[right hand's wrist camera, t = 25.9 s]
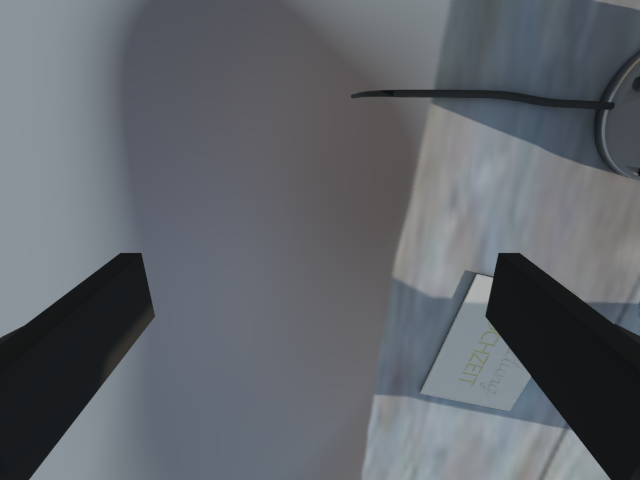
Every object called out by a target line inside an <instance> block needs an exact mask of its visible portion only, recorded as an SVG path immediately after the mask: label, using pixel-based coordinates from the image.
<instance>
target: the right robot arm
mask: <svg viewBox="0 0 640 480" xmlns="http://www.w3.org/2000/svg"><path fill="white" fill-rule="evenodd" d="M360 97H451V98H496V99H507V100H514V101H520V102H525V103H530V104H536V105H543V106H551V107H566V108H586V109H598V111H597V115H596V121H595V141H596V145H597V149H598V152H599V154H600V156H601V158H602V159H603V161H604V162H605V163H606V165H607V166H608V167H609V168H611V169H612V170H613V171H615V172H616V173H618V174H620V175H622V176H625V177H629V178H632V179H637V180H640V51H639V52H638V53H636V54H635V55H634V56H633V57H632V58H631V59H630V60H629V61H628V62H627V63H626V64H625V65H624V66H623V67H622V68H621V69H620V70H619V72H618V73H617V74H616V75H615V77H614V78H613V80H612V81H611V83H610V84H609V86H608V87H607V89H606V91H605V93H604V95H603V97H602V100H601V102H597V101H577V100H557V99H548V98H541V97H535V96H530V95H525V94H519V93H512V92H503V91H488V90H376V91H364V92H359V93H356V94H352V95H351V98H360ZM638 315H639V318H640V303H639V306H638ZM154 317H155V314H154V310H153V305H152V301H151V296H150V291H149V287H148V282H147V277H146V273H145V268H144V263H143V258H142V254H141V253H120V254H119V255H117V256H116V257H115V258H113V259H112V260H111V261H109V262H108V263H107V264H105V265H104V266H103V267H101V268H100V269H99V270H97V271H96V272H95V273H93V274H92V275H91V276H90V277H88V278H87V279H86V280H84V281H83V282H82V283H80V284H79V285H78V286H76V287H75V288H74V289H72V290H71V291H70V292H68V293H67V294H66V295H64V296H63V297H62V298H60V299H59V300H58V301H56V302H55V303H54V304H52V305H51V306H50V307H49V308H47V309H46V310H44V311H43V312H42V313H41V314H39V315H38V316H37V317H35V318H34V319H33V320H31V321H30V322H29V323H27V324H26V325H25V326H23V327H21V328H19V329H17V330H15V331H13V332H11V333H9V334H7V335H5V336H3V337H1V338H0V480H29V479H30V478H31V476H32V475H33V474H34V473H35V471H36V470H37V469H38V467H39V466H40V465H41V463H42V462H43V461H44V460H45V458H46V457H47V456H48V454H49V453H50V452H51V450H52V449H53V448H54V447H55V445H56V444H57V443H58V441H59V440H60V439H61V437H62V436H63V435H64V434H65V432H66V431H67V430H68V428H69V427H70V426H71V425H72V423H73V422H74V421H75V419H76V418H77V417H78V415H79V414H80V413H81V412H82V410H83V409H84V408H85V406H86V405H87V404H88V403H89V401H90V400H91V399H92V397H93V396H94V395H95V393H96V392H97V391H98V389H99V388H100V387H101V386H102V384H103V383H104V382H105V380H106V379H107V378H108V377H109V375H110V374H111V373H112V371H113V370H114V369H115V367H116V366H117V365H118V364H119V362H120V361H121V360H122V358H123V357H124V356H125V355H126V353H127V352H128V351H129V349H130V348H131V347H132V345H133V344H134V343H135V342H136V340H137V339H138V338H139V336H140V335H141V334H142V332H143V331H144V330H145V328H146V327H147V326H148V325H149V323H150V322H151V321H152V320H153V318H154ZM485 317H486V318H487V320H488V321H489V322H490V323H491V325H492V326H493V327H494V329H495V330H496V331H497V332H498V334H499V335H500V336H501V338H502V339H503V340H504V342H505V343H506V344H507V345H508V347H509V348H510V349H511V351H512V352H513V353H514V355H515V356H516V357H517V358H518V360H519V361H520V362H521V364H522V365H523V366H524V368H525V369H526V370H527V371H528V373H529V374H530V375H531V377H532V378H533V379H534V380H535V382H536V383H537V384H538V386H539V387H540V388H541V390H542V391H543V392H544V393H545V395H546V396H547V397H548V399H549V400H550V401H551V403H552V404H553V405H554V406H555V408H556V409H557V410H558V412H559V413H560V414H561V415H562V417H563V418H564V419H565V421H566V422H567V423H568V425H569V426H570V427H571V428H572V430H573V431H574V432H575V434H576V435H577V436H578V438H579V439H580V440H581V441H582V443H583V444H584V445H585V447H586V448H587V449H588V451H589V452H590V453H591V454H592V456H593V457H594V458H595V460H596V461H597V462H598V463H599V465H600V466H601V467H602V469H603V470H604V471H605V473H606V474H607V475H608V476H609V478H610V479H611V480H640V336H638V335H636V334H634V333H632V332H630V331H628V330H626V329H624V328H622V327H620V326H618V325H616V324H613V323H611V322H610V321H609V320H607V319H606V318H605V317H603V316H602V315H601V314H599V313H598V312H597V311H596V310H594V309H593V308H592V307H590V306H589V305H588V304H586V303H585V302H584V301H582V300H581V299H580V298H578V297H577V296H576V295H574V294H573V293H572V292H570V291H569V290H568V289H566V288H565V287H564V286H562V285H561V284H560V283H558V282H557V281H556V280H554V279H553V278H552V277H551V276H549V275H548V274H547V273H545V272H544V271H543V270H541V269H540V268H539V267H537V266H536V265H535V264H533V263H532V262H531V261H529V260H528V259H527V258H525V257H524V256H523V255H521V254H520V253H499V254H498V258H497V263H496V268H495V272H494V277H493V282H492V286H491V291H490V296H489V300H488V305H487V310H486V314H485Z"/></svg>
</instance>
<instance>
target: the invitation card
mask: <svg viewBox="0 0 640 480" xmlns="http://www.w3.org/2000/svg"><path fill="white" fill-rule="evenodd" d="M492 282H493V277H489V276H485V275H481V274H476V276H475V278H474V280H473V282H472V285H471V287H470V289H469V291H468V293H467V295H466V297H465V299H464V301H463V303H462V305H461V308H460V310H459V312H458V314H457V316H456V318H455V320H454V322H453V324H452V326H451V329H450V331H449V333H448V335H447V337H446V339H445V341H444V343H443V345H442V347H441V349H440V352H439V354H438V356H437V358H436V360H435V362H434V364H433V366H432V368H431V370H430V373H429V375H428V377H427V379H426V381H425V383H424V385H423V387H422V389H421V391H420V394H425V395H430V396H435V397H440V398H445V399H450V400H455V401H460V402H465V403H470V404H475V405H480V406H485V407H490V408H495V409H500V410H505V411H510V410H511V409H512V407H513V405H514V404H515V402H516V401H517V399H518V397H519V396H520V394H521V393H522V391H523V389H524V388H525V386H526V385H527V383H528V381H529V380H530V378H531V375H530V374H529V373H528V371H527V370H526V369H525V368H524V366H523V365H522V364H521V362H520V361H519V360H518V358H517V357H516V356H515V355H514V353H513V352H512V351H511V349H510V348H509V347H508V345H507V344H506V343H505V342H504V340H503V339H502V338H501V336H500V335H499V334H498V332H497V331H496V330H495V329H494V327H493V326H492V325H491V323H490V322H489V321H488V320H487V318H486V317H485V314H486V310H487V305H488V300H489V296H490V291H491V286H492Z"/></svg>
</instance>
